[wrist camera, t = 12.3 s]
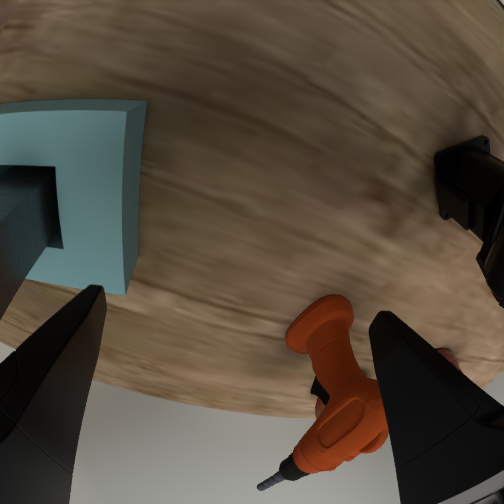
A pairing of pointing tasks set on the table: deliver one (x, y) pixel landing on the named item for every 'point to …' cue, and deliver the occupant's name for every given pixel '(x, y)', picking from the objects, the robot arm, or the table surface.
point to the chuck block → (83, 183)
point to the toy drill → (333, 394)
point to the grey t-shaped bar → (25, 223)
